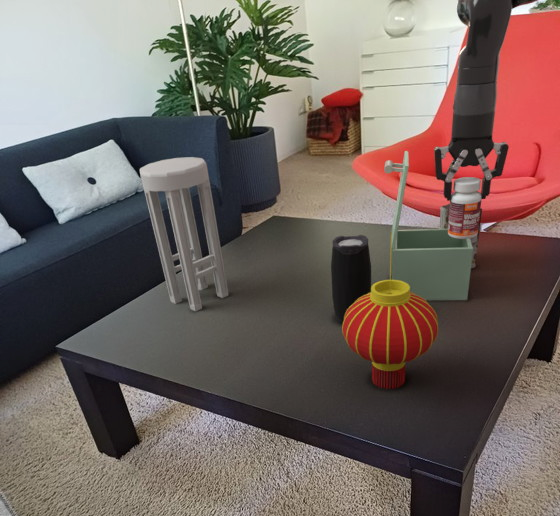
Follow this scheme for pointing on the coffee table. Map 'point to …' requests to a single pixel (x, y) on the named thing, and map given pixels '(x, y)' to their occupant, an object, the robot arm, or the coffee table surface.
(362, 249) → the portable speaker
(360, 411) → the coffee table surface
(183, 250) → the stool
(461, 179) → the pill bottle
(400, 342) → the lantern
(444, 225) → the coffee box
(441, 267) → the chest
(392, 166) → the lid
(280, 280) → the coffee table surface
